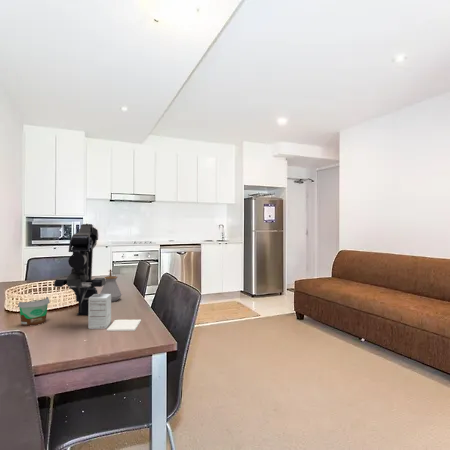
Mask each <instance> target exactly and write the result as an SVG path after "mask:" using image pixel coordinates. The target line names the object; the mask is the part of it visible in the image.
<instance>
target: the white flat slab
mask: <svg viewBox="0 0 450 450" xmlns="http://www.w3.org/2000/svg"><path fill="white" fill-rule="evenodd" d="M141 322H142V319H115V320H113V322H111V324H110V325H109V326H108V327H107V328H106V332H135V331H136V330H137V328H138V326H139V325H140V323H141Z"/></svg>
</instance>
